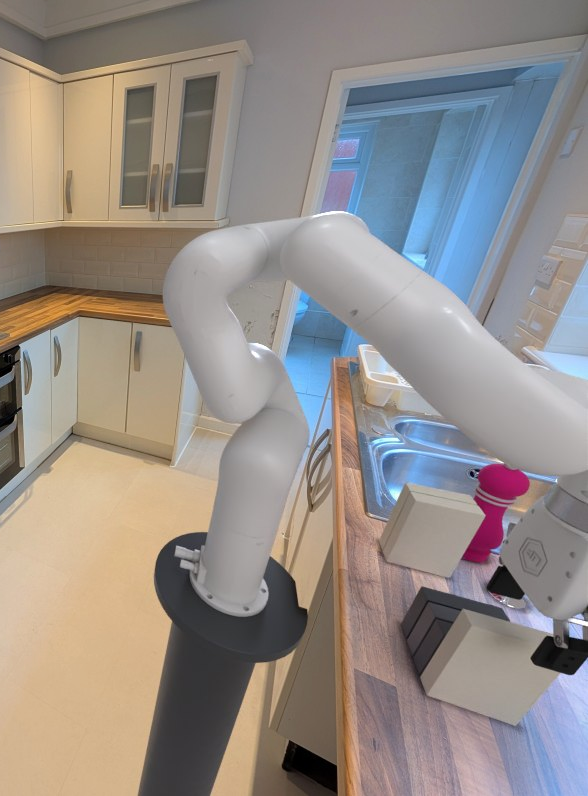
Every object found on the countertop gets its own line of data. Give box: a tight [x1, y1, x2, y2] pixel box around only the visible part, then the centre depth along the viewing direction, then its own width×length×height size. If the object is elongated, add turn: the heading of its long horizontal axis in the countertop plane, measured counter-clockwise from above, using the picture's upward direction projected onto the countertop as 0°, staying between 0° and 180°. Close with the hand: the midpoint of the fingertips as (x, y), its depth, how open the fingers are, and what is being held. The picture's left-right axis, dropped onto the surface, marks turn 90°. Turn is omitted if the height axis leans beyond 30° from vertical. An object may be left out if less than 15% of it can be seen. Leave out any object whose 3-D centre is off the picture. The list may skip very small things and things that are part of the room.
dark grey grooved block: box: [400, 585, 511, 676], centre depth 58 cm, size 9×8×8 cm
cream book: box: [419, 609, 561, 727], centre depth 53 cm, size 9×2×14 cm, turn 67°
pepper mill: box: [461, 463, 531, 563], centre depth 74 cm, size 7×7×20 cm
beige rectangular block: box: [378, 481, 486, 579], centre depth 74 cm, size 9×5×14 cm, turn 67°
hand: (524, 627), depth 49 cm, fingers open, 9 cm apart
